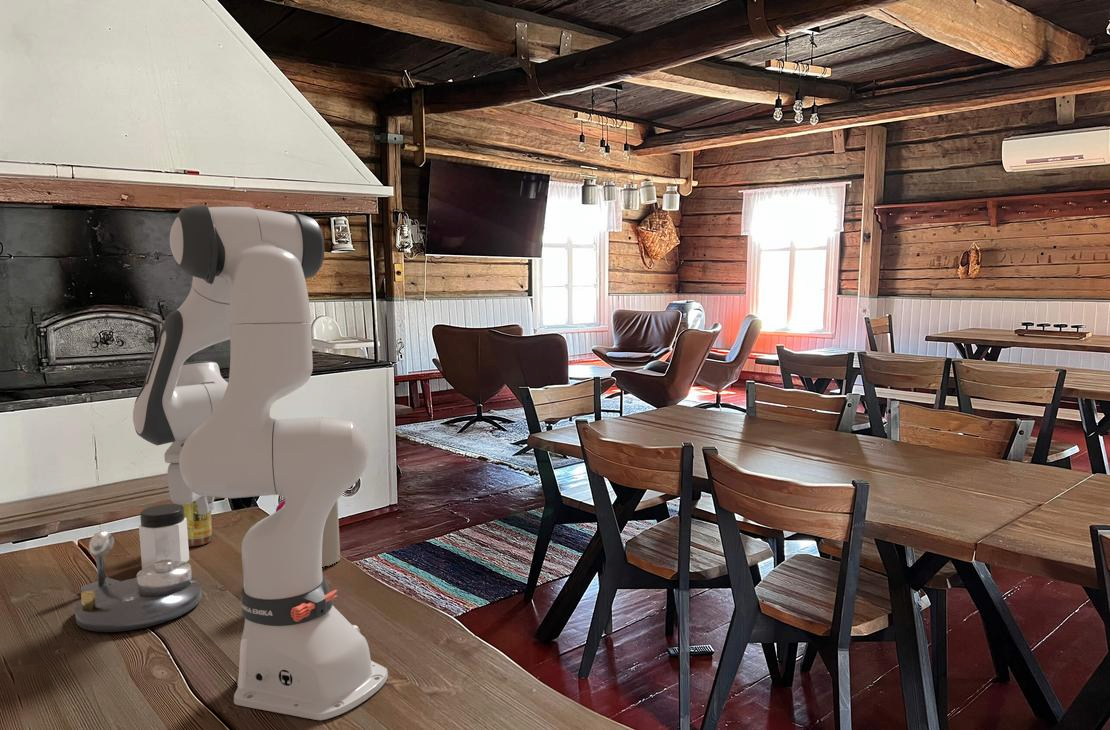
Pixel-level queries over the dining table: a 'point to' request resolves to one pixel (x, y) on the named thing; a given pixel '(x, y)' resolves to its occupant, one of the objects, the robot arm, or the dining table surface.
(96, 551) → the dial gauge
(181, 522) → the jar
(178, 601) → the turntable
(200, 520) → the sauce bottle
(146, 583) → the cover
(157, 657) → the dining table surface
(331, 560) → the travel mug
